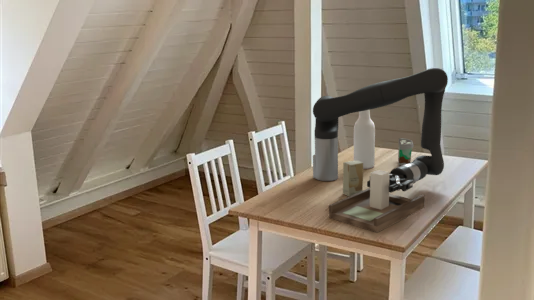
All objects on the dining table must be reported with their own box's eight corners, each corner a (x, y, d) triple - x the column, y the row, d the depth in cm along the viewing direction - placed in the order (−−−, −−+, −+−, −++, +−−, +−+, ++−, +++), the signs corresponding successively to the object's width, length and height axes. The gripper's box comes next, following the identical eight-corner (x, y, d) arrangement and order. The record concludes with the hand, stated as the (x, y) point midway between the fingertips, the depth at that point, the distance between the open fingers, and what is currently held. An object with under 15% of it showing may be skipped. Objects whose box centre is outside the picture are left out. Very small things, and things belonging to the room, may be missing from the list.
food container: (413, 168, 238) (414, 145, 235) (398, 167, 239) (399, 144, 237) (412, 160, 250) (413, 138, 247) (398, 159, 251) (398, 137, 248)
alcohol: (350, 167, 242) (350, 98, 234) (358, 162, 249) (358, 95, 241) (369, 170, 237) (370, 99, 229) (377, 164, 244) (378, 96, 237)
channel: (329, 217, 188) (329, 205, 186) (377, 195, 206) (378, 184, 205) (377, 232, 174) (377, 219, 173) (424, 207, 193) (424, 195, 192)
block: (369, 206, 191) (370, 172, 187) (377, 203, 194) (378, 169, 191) (381, 209, 187) (381, 175, 184) (388, 206, 190) (389, 172, 187)
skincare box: (349, 197, 206) (349, 165, 203) (342, 193, 210) (342, 162, 207) (363, 193, 209) (363, 162, 206) (356, 190, 213) (356, 159, 210)
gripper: (388, 161, 203) (361, 172, 192) (423, 169, 193) (397, 180, 182) (387, 181, 205) (361, 193, 194) (422, 189, 195) (396, 202, 184)
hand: (378, 187), depth 188 cm, fingers open, 8 cm apart
